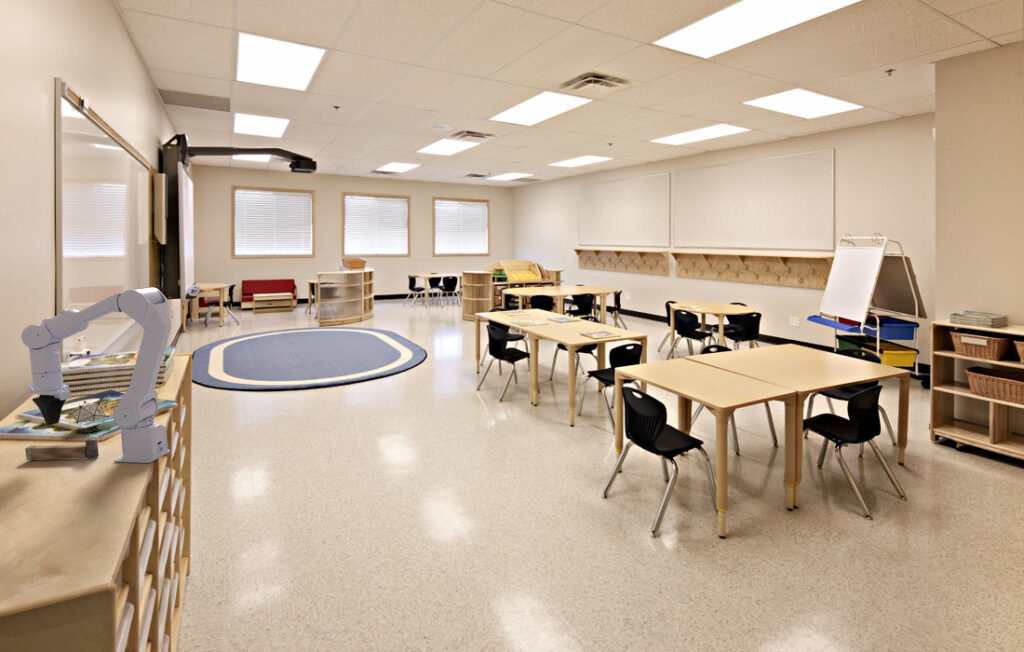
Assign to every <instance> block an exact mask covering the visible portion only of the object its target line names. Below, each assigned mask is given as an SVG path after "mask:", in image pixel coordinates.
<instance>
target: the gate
mask: <svg viewBox="0 0 1024 652" xmlns="http://www.w3.org/2000/svg"><path fill="white" fill-rule="evenodd" d="M84 442H85V444H69V445H65V444H63V445H62V444H61V445H28V446H27V447H25V448H24V449H25V450H24V451H25V458H26V459H25V460H26V461H33V460H34V461H37V460H70V459H71V460H72V459H73V460H74V459H75V460H76V459H89V460H92V459H97V458H98V457H99V444H98V438H95V437H92V438H87V439H85V441H84Z"/></svg>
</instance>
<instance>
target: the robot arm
mask: <svg viewBox="0 0 1024 652" xmlns="http://www.w3.org/2000/svg"><path fill="white" fill-rule="evenodd" d="M168 301H169V300H168V298H167V297H166V296H165V295H164V293H162V291H161V290H159V289H158V288H156V287H152V286H150V287H149V286H148V287H145V288H138V289H126V290H124V291H123V292H118V293H115V294H112V295H110V296H108V297H106V298H103V299H102V300H100V301H97V302H96V303H94V304H92V305H90V306H88V307H86V308H83V309H82V310H78V309H68V308H66V309H62V310H60V311H59V314H57V315H55V316H54V317H48V318H46V317H45V318H44V319H43V320H42V323H38V324H30V325H28V326H27V327H25V328H24V329H23V330H22V332H21V335H20V337H21V341H22V343H23V344H24V346H26V347H28V349H29V351H28V352H29V359H30V368H31V370H30V371H31V376H32V384H31V385H28V388H27V389H28V394H33V395H39V396H38V397H33V398H32V402H33V403H34V405H36V407H38V409H39V411H40V412H41V416H42V418H43V420H44V422H45V424H46V425H48V426H52V425H56V424H59V423H60V420H61V414H62V409H63V407H64V405H65V404H66V401H67V400H71V399H72V393H71V391H70V390H68V389H69V388H70V386H69V384H64V379H63V377H64V376H63V369H62V360H61V351H60V350H61V343H62V342H64V341H63V340H65V339H67V338H70V337H72V336H74V335H76V334H78V333H81V332H83V331H85V330H87V329H88V327H89V323H90V322H93V321H95V320H98V319H100V318H102V317H105V316H107V315H109V314H113V313H114V312H116V313H121V312H122V313H124V314H125V315H126V316H127V317H130V318H131V319H132V320H134V321H135V322H136V323H138V324H139V325H140V327H142V329H143V334H142V338H141V342H140V346H139V350H138V353H137V356H136V359H135V360H136V361H135V365H134V367H133V371H132V376H131V380H130V384H129V387H128V389H127V390H126V391H125V393H123V395H122V397H121V398H120V401H119V404H117V406H116V407H115V408H114V410H113V411H112V418H113V421H114V423H115V424H116V425H117V426H119V429H120V436H121V449H122V455H121V456H119V457H117V458H115V459H113V460H114V462H115V463H138V464H139V463H141V464H149V463H152V462H154V461H156V460H158V459H159V458H161V457H163V456H164V455H165V456H166V454H168V453H170V452H171V450H170V449H169V446H168V435H167V433H168V432H167V429H166V427H165V425H163V424H159V423H157V422H156V421H155V415H156V414H157V412H158V410H159V402H158V396H159V393H158V392H157V390H155V387H156V384H157V380H158V376H159V373H160V368H161V365H162V362H163V359H164V358H163V357H164V353H165V351H166V347H167V343H168V339H169V336H170V332H171V330H172V329H171V328H172V321H171V318H170V315H169V314H170V313H169V310H168Z"/></svg>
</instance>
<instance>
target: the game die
mask: <svg viewBox="0 0 1024 652" xmlns="http://www.w3.org/2000/svg"><path fill="white" fill-rule="evenodd" d="M68 415H69V416H72V417H73V418H74V420H75V422H74V424H75V423H77V424H78V422H87V421H95V420H99V419H102V418H104V419H105V418H110V416H109V415H106V413H105V412H104V410H103V406H101V401H98V402H97V403H94V402H87V401H86V400H83V404H82V405H81V404H79V405H78V408H77V409H76V410H75V411H74V412H70V413H68ZM76 421H77V422H76Z"/></svg>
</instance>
